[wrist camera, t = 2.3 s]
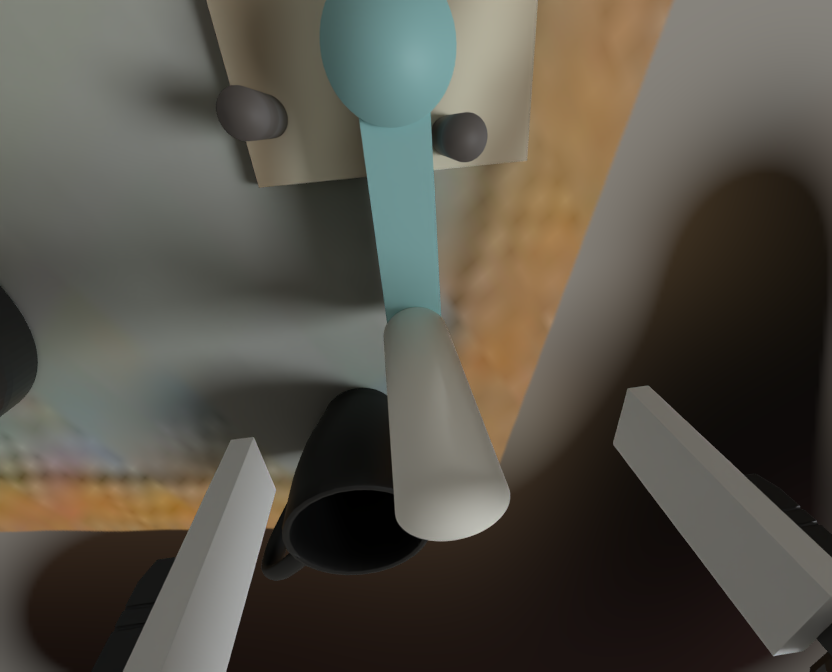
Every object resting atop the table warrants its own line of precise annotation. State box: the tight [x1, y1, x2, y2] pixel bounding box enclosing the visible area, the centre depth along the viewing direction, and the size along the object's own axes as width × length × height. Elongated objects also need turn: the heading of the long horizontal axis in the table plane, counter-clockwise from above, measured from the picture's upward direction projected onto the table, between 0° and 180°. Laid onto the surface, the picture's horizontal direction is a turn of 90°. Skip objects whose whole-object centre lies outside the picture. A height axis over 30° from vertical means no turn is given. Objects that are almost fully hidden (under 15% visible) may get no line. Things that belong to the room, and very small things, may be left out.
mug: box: [262, 388, 428, 581], centre depth 24 cm, size 8×12×10 cm
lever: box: [320, 0, 510, 541], centre depth 12 cm, size 5×21×13 cm, turn 5°
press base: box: [206, 0, 538, 188], centre depth 15 cm, size 14×11×5 cm
